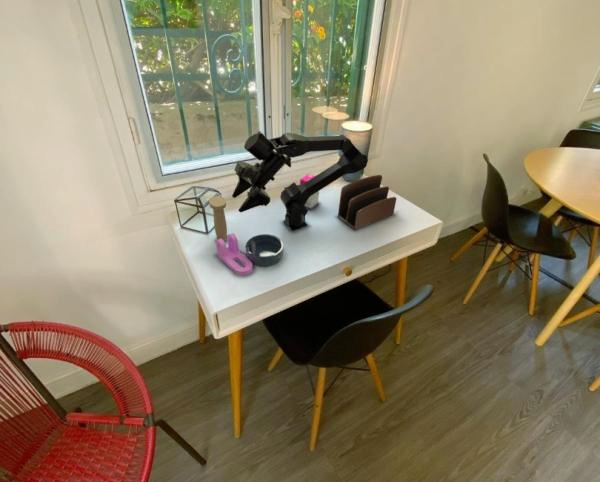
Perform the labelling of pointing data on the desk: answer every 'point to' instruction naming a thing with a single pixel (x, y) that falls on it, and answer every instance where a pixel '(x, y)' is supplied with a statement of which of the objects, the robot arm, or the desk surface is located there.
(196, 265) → the desk surface
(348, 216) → the letter holder
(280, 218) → the desk surface
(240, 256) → the bracket
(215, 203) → the handle
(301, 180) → the supplement box
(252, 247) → the dark grey ring
